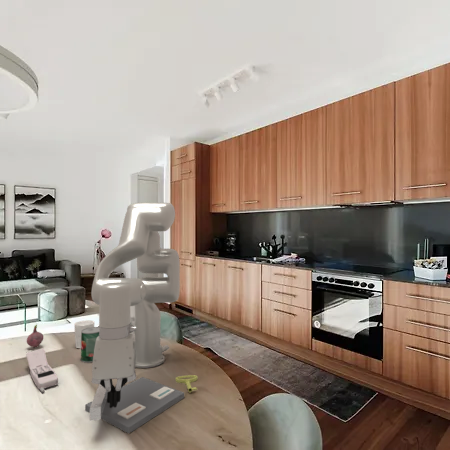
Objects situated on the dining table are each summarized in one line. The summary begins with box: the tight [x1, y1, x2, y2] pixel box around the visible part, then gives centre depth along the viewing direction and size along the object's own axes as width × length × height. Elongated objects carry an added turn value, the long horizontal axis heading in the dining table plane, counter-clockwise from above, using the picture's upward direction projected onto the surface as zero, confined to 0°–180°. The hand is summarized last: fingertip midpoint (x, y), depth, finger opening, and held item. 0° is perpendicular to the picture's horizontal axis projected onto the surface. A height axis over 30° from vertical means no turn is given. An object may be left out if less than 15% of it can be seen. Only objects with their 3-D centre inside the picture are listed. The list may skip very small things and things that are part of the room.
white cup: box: [74, 319, 95, 350], centre depth 133 cm, size 8×8×10 cm
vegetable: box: [26, 324, 44, 349], centre depth 131 cm, size 6×6×10 cm
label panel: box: [84, 376, 185, 434], centre depth 88 cm, size 20×18×2 cm
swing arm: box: [89, 384, 107, 422], centre depth 80 cm, size 3×17×6 cm, turn 12°
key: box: [175, 374, 199, 393], centre depth 99 cm, size 7×12×2 cm, turn 32°
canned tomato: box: [80, 326, 99, 364], centre depth 120 cm, size 8×8×11 cm
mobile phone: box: [25, 348, 59, 393], centre depth 104 cm, size 6×6×25 cm
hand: (113, 404), depth 79 cm, fingers closed
